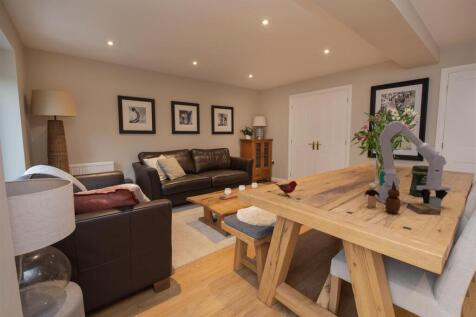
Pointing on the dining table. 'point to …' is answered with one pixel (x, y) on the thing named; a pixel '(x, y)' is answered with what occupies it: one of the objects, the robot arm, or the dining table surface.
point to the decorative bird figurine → (287, 187)
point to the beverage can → (382, 177)
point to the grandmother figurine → (372, 195)
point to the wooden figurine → (393, 200)
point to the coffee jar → (418, 179)
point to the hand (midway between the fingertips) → (431, 203)
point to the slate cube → (434, 201)
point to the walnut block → (424, 208)
